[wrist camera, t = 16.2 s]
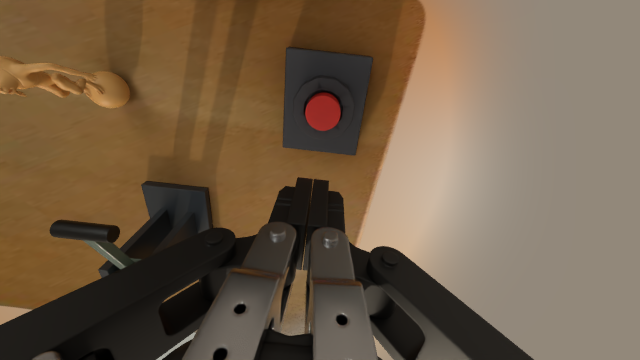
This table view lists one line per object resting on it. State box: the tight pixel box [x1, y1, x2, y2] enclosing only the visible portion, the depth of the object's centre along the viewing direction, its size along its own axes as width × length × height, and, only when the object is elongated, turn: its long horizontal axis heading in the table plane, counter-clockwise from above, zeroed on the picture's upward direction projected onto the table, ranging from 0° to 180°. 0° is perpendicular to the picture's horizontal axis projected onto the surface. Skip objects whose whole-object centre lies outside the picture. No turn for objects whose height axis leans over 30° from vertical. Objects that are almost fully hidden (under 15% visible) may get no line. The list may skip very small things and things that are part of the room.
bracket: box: [99, 181, 213, 278], centre depth 35 cm, size 12×9×13 cm
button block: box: [283, 47, 373, 155], centre depth 29 cm, size 11×9×4 cm
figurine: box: [0, 56, 130, 108], centre depth 26 cm, size 8×6×12 cm
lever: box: [50, 220, 142, 269], centre depth 27 cm, size 12×5×2 cm, turn 174°
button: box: [305, 92, 341, 131], centre depth 27 cm, size 4×4×2 cm
